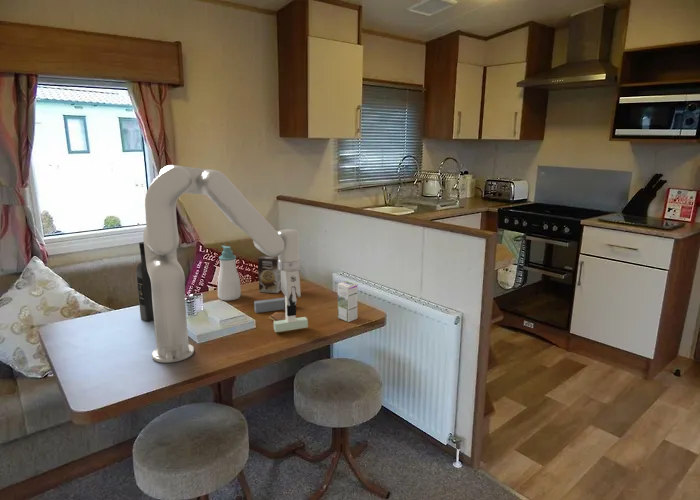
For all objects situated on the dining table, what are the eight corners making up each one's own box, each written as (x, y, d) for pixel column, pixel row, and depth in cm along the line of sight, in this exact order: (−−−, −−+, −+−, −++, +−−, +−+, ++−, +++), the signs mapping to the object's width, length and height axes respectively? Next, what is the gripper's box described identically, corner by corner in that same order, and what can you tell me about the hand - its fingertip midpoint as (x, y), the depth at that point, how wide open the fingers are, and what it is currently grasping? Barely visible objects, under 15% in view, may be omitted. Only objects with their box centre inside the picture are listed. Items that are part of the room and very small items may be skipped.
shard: (279, 328, 169) (279, 323, 168) (261, 325, 171) (261, 321, 170) (291, 317, 179) (291, 313, 178) (273, 315, 181) (273, 311, 181)
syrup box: (357, 318, 178) (358, 283, 174) (347, 322, 173) (348, 286, 170) (347, 314, 181) (347, 280, 178) (337, 318, 177) (337, 283, 174)
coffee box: (258, 292, 208) (257, 258, 204) (263, 288, 214) (262, 254, 210) (277, 293, 206) (276, 259, 203) (282, 289, 213) (281, 255, 209)
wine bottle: (147, 322, 172) (140, 244, 165) (139, 318, 175) (132, 242, 168) (161, 317, 176) (154, 242, 169) (153, 314, 179) (146, 240, 173)
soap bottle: (234, 292, 207) (231, 243, 202) (245, 297, 200) (242, 247, 195) (214, 297, 201) (211, 246, 195) (224, 302, 194) (221, 250, 188)
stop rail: (294, 307, 188) (294, 298, 187) (255, 312, 182) (255, 303, 181) (292, 305, 191) (292, 296, 190) (254, 310, 185) (254, 301, 184)
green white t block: (305, 324, 169) (304, 291, 166) (307, 327, 166) (307, 293, 163) (273, 329, 164) (272, 295, 161) (275, 332, 161) (274, 297, 158)
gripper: (306, 269, 154) (307, 320, 158) (292, 258, 168) (294, 305, 172) (284, 271, 151) (286, 323, 155) (273, 260, 165) (274, 307, 170)
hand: (290, 313), depth 164 cm, fingers closed on green white t block, 3 cm apart
